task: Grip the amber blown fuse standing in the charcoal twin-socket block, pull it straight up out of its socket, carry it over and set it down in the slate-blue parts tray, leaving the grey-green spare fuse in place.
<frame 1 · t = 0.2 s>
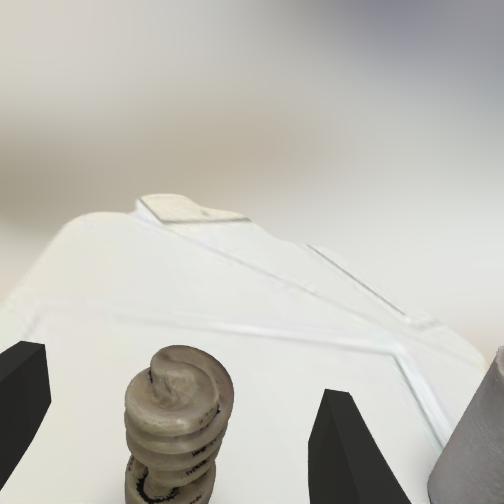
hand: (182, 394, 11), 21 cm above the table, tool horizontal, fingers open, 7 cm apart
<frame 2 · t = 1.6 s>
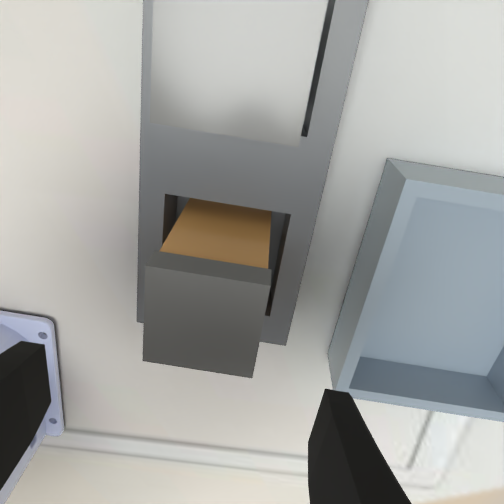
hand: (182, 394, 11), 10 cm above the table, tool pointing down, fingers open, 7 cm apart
blown fuse: (227, 234, 19), resting on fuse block
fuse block: (240, 147, 18), on the table
spare fuse: (252, 47, 16), resting on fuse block
parts tray: (444, 283, 20), on the table
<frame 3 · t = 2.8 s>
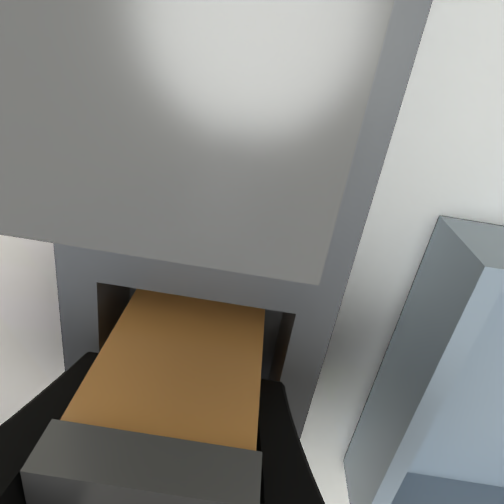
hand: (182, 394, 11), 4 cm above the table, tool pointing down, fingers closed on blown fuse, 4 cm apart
blown fuse: (204, 317, 14), point 1 cm above the table, touching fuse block, gripper
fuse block: (219, 199, 12), on the table
spare fuse: (234, 50, 10), resting on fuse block
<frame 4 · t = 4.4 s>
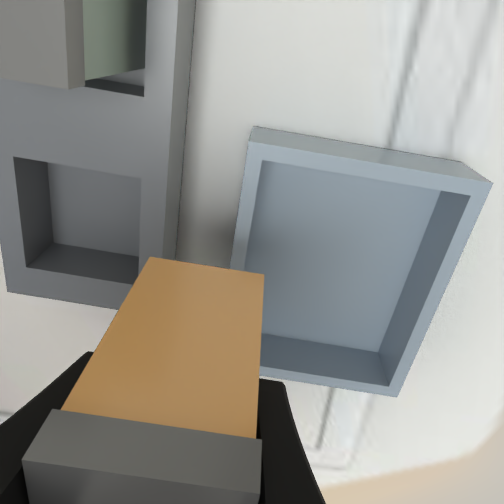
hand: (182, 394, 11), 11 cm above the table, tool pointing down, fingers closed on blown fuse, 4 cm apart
blown fuse: (202, 312, 14), point 7 cm above the table, touching gripper
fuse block: (106, 114, 18), on the table
spare fuse: (100, 8, 16), resting on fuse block
parts tray: (326, 256, 20), on the table
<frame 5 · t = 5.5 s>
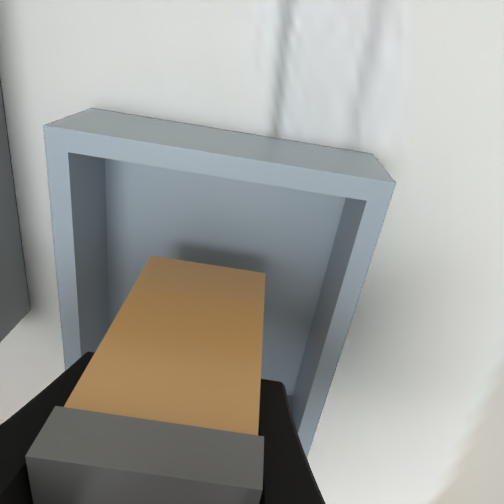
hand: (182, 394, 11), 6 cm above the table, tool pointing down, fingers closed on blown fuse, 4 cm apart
blown fuse: (203, 310, 14), point 2 cm above the table, touching gripper
parts tray: (214, 277, 16), on the table
when the fingers open (5 cm above the table, at t = 6.1 s): blown fuse stays where it is, resting on parts tray.
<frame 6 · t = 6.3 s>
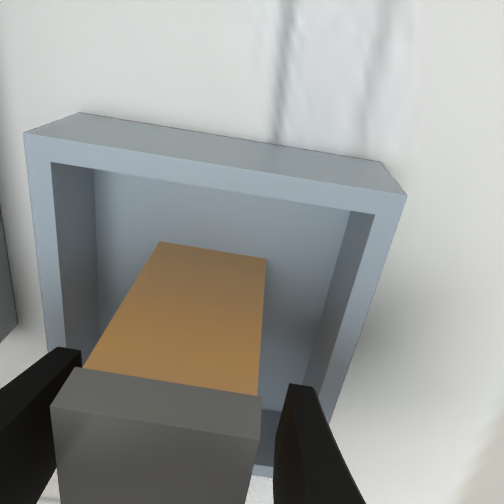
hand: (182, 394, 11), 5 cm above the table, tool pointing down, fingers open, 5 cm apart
blown fuse: (207, 294, 14), resting on parts tray
parts tray: (211, 291, 15), on the table
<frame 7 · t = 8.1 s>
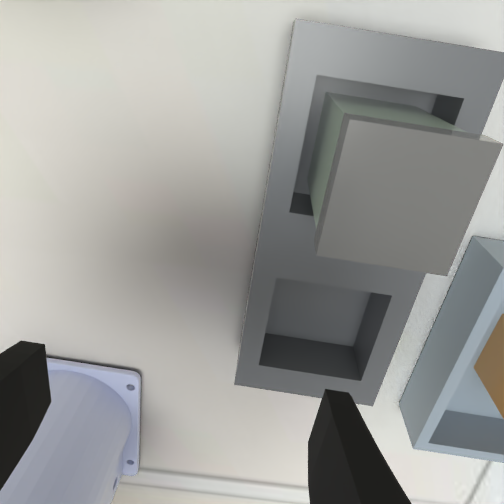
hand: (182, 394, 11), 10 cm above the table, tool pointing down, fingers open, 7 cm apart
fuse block: (334, 226, 19), on the table
spare fuse: (358, 144, 17), resting on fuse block
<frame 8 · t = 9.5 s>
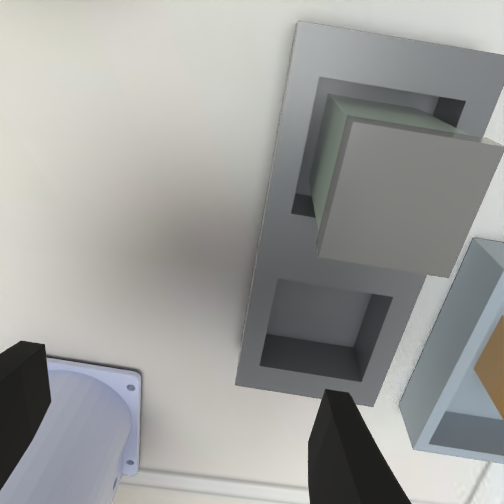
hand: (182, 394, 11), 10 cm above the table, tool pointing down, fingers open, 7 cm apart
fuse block: (335, 227, 19), on the table
spare fuse: (360, 145, 17), resting on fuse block
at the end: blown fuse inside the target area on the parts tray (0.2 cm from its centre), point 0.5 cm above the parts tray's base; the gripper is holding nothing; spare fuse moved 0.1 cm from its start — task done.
